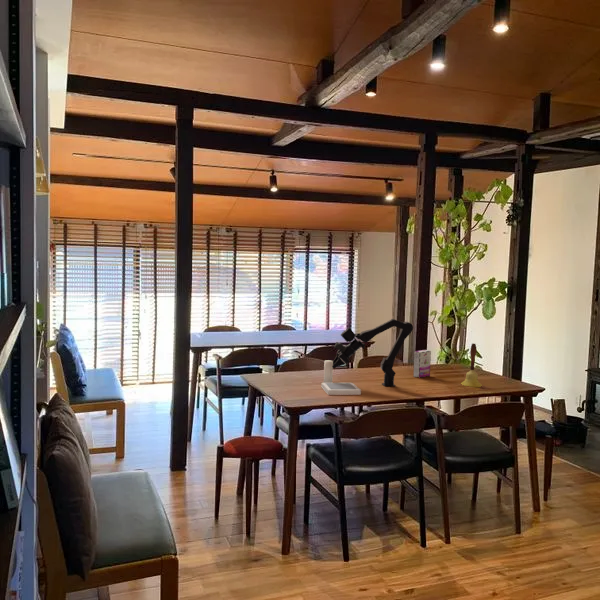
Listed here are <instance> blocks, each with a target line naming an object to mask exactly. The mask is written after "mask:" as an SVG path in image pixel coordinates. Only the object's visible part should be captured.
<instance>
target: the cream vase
mask: <svg viewBox="0 0 600 600" xmlns="http://www.w3.org/2000/svg"><path fill="white" fill-rule="evenodd" d="M333 361H334V360H329V359H328V360H326V359H325V360H324V363H323V365H324V366H323V383H333V371H334V368H333V367H332V366H333Z"/></svg>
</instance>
